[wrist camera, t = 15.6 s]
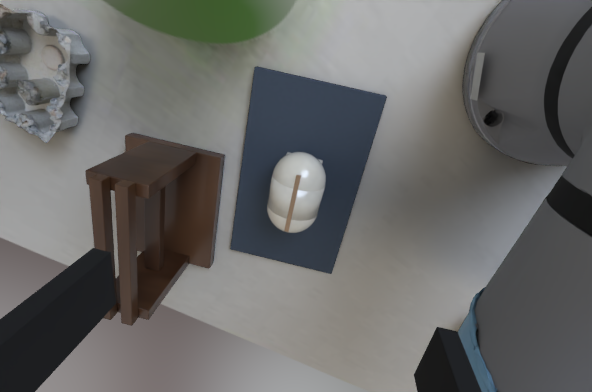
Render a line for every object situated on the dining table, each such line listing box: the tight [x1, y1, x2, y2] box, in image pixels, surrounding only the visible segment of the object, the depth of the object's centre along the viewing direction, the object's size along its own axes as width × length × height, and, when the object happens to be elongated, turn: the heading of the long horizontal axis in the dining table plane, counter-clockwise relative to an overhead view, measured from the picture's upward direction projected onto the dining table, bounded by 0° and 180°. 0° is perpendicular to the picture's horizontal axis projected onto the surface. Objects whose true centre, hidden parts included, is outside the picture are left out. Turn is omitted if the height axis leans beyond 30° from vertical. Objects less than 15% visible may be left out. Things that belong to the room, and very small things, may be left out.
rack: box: [86, 133, 225, 325], centre depth 31 cm, size 10×14×11 cm
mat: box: [230, 67, 387, 274], centre depth 33 cm, size 12×20×1 cm, turn 168°
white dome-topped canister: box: [267, 152, 326, 233], centre depth 30 cm, size 5×8×5 cm, turn 168°
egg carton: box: [0, 4, 90, 143], centre depth 30 cm, size 11×8×4 cm
